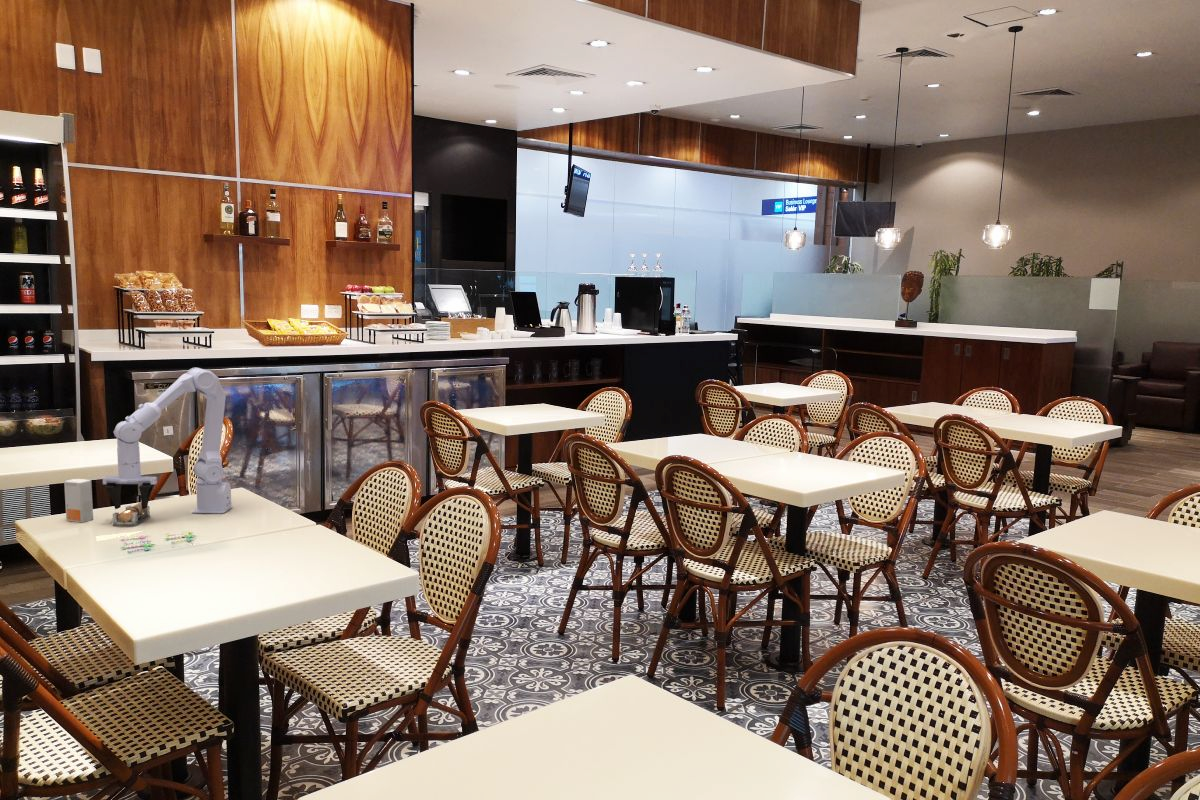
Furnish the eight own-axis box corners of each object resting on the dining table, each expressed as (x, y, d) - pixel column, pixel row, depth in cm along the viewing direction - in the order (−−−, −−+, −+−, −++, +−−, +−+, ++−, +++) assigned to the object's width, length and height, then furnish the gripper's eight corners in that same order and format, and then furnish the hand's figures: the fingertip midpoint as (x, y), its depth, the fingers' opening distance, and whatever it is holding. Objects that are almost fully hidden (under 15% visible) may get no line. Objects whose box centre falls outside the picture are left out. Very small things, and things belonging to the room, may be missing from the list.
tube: (135, 510, 269) (138, 500, 269) (146, 514, 269) (148, 503, 269) (116, 521, 257) (119, 510, 257) (127, 524, 258) (130, 514, 257)
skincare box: (65, 521, 263) (63, 481, 261) (77, 517, 267) (75, 478, 265) (82, 523, 261) (79, 482, 260) (94, 519, 265) (92, 479, 264)
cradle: (150, 517, 269) (149, 505, 268) (135, 526, 259) (134, 514, 258) (128, 517, 268) (128, 505, 268) (113, 526, 258) (112, 514, 258)
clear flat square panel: (212, 523, 264) (212, 519, 264) (232, 552, 239) (232, 547, 239) (95, 537, 248) (95, 532, 248) (104, 569, 223) (103, 563, 223)
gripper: (96, 465, 257) (98, 511, 259) (148, 465, 258) (150, 511, 259) (108, 460, 264) (110, 505, 266) (159, 460, 265) (161, 505, 266)
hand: (131, 508), depth 263 cm, fingers open, 7 cm apart
